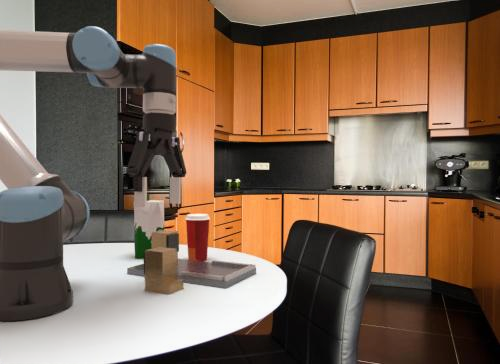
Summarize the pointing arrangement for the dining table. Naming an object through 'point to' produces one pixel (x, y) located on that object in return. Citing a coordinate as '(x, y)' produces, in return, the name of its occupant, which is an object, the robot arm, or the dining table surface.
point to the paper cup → (197, 236)
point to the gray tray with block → (198, 265)
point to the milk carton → (147, 225)
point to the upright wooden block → (161, 270)
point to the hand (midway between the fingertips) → (159, 205)
